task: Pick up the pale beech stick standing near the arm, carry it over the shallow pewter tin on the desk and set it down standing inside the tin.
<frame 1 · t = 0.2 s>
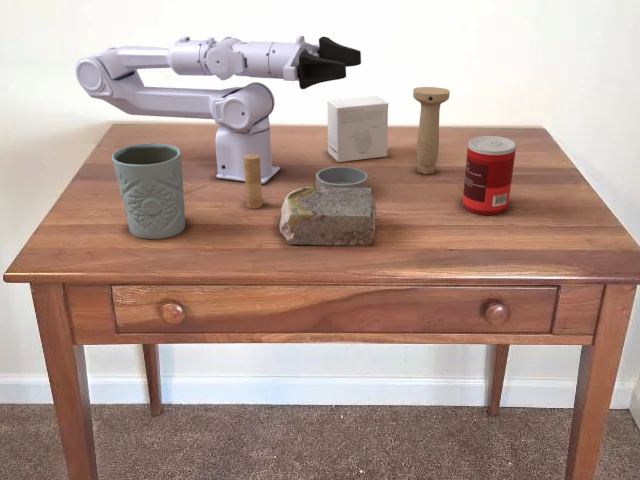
hand: (353, 64, 120), 21 cm above the table, tool horizontal, fingers open, 7 cm apart
canned food: (484, 207, 126), on the table
drinking glass: (157, 228, 117), on the table
stick: (254, 205, 125), on the table
geological specimen: (327, 232, 117), on the table
cosmetics box: (357, 155, 147), on the table
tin: (341, 191, 131), on the table
handle: (425, 172, 140), on the table
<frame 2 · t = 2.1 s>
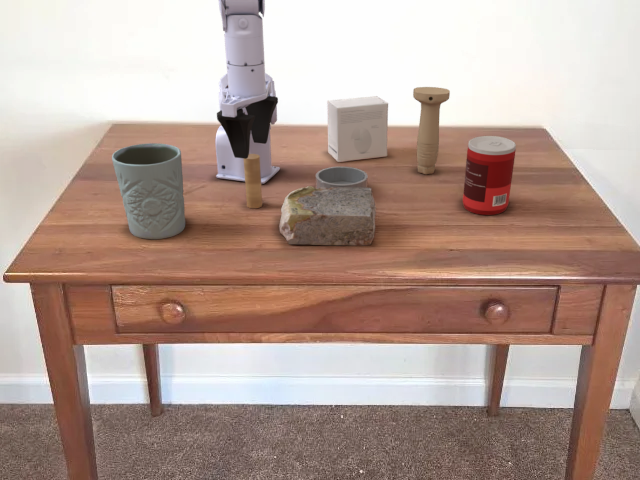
hand: (251, 149, 120), 10 cm above the table, tool pointing down, fingers open, 7 cm apart
nothing on the table moved.
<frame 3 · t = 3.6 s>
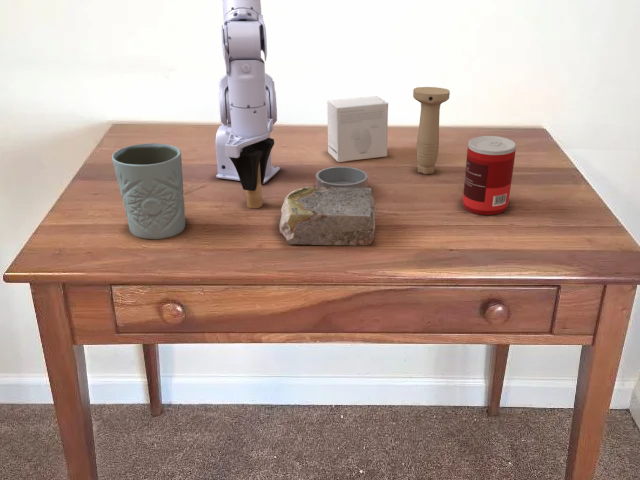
hand: (253, 186, 123), 3 cm above the table, tool pointing down, fingers closed on stick, 2 cm apart
stick: (254, 205, 125), on the table, touching gripper
everything else where it was.
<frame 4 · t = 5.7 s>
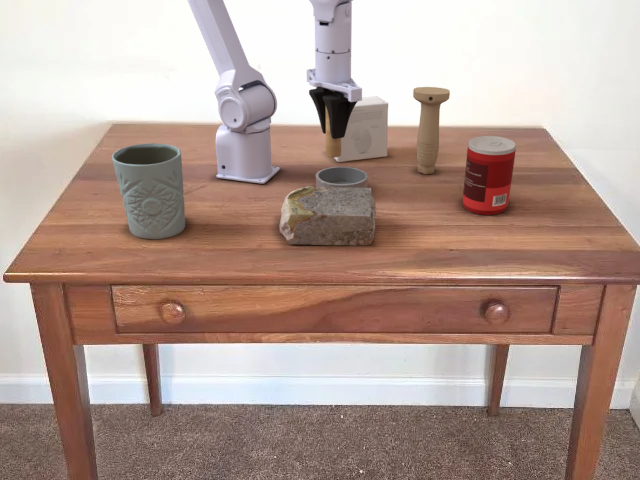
hand: (333, 135, 124), 10 cm above the table, tool pointing down, fingers closed on stick, 2 cm apart
stick: (333, 154, 126), point 7 cm above the table, touching gripper
everything else where it was.
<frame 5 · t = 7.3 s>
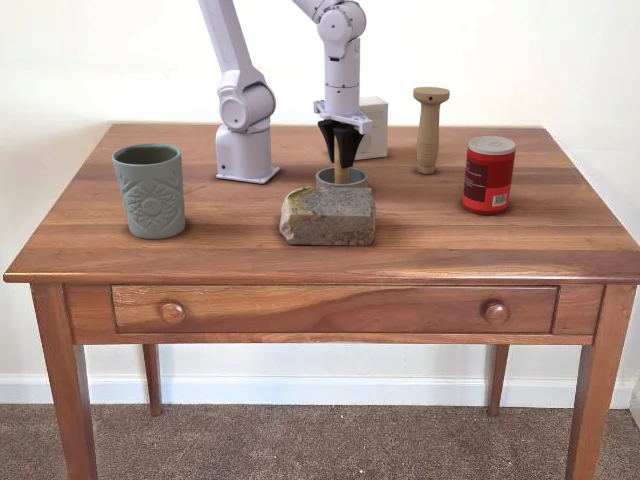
hand: (341, 164, 128), 5 cm above the table, tool pointing down, fingers closed on stick, 2 cm apart
stick: (341, 183, 130), point 2 cm above the table, touching gripper
everything else where it was.
when the fingers open (4 cm above the table, at t = 7.9 s): stick stays where it is, resting on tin.
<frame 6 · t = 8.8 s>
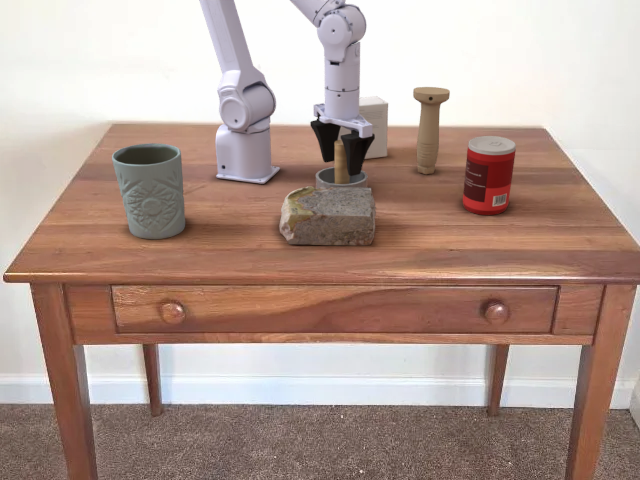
hand: (341, 167, 128), 4 cm above the table, tool pointing down, fingers open, 7 cm apart
stick: (342, 189, 130), resting on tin
everything else where it was.
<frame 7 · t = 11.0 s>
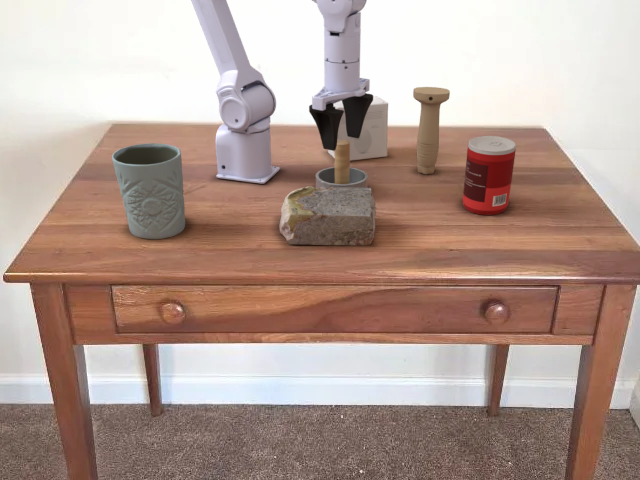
hand: (341, 143, 126), 9 cm above the table, tool pointing down, fingers open, 7 cm apart
nothing on the table moved.
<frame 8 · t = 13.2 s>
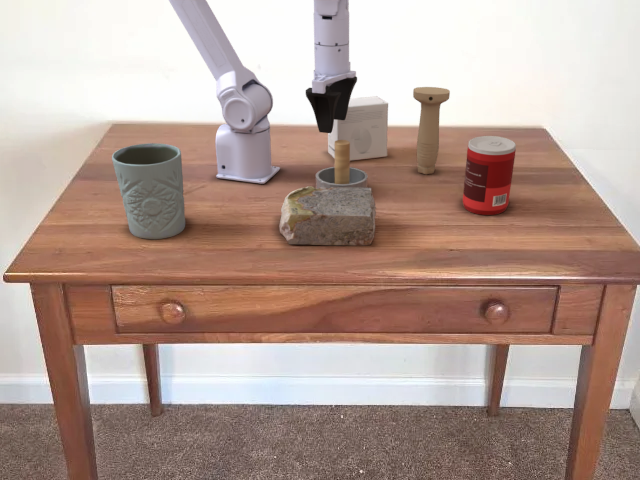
hand: (332, 125, 128), 10 cm above the table, tool pointing down, fingers open, 7 cm apart
nothing on the table moved.
at the end: stick 0.1 cm off-centre in the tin, point 0.4 cm above the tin's base; the gripper is holding nothing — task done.
